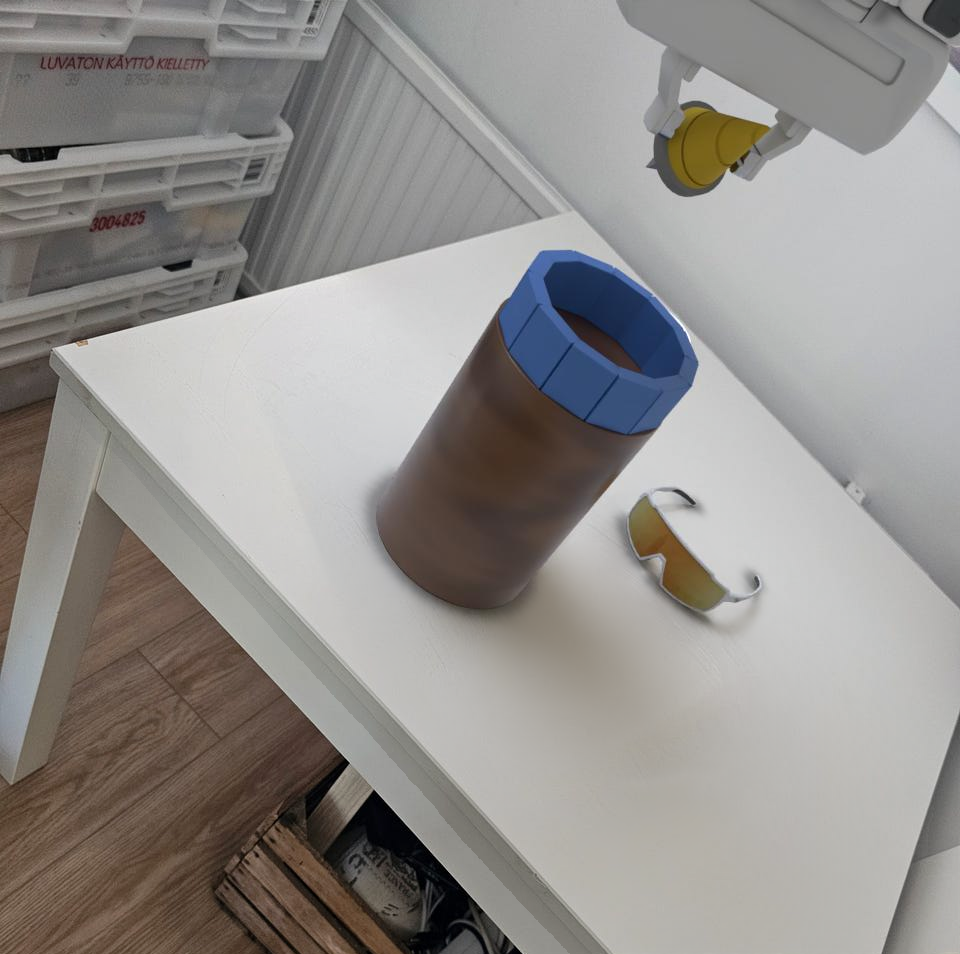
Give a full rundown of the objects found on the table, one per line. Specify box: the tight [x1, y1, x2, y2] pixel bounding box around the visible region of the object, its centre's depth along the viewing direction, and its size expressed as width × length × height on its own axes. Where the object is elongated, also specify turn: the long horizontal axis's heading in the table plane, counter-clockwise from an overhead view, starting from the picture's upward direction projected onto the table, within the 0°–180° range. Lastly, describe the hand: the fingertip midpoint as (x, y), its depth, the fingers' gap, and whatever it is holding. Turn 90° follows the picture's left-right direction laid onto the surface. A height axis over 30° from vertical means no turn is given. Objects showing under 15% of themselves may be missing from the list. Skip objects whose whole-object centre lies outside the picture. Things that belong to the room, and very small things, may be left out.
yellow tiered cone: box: [645, 100, 771, 198], centre depth 63 cm, size 5×5×10 cm
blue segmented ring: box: [499, 249, 700, 434], centre depth 71 cm, size 13×13×4 cm
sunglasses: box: [626, 485, 763, 614], centre depth 101 cm, size 14×15×5 cm
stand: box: [376, 296, 664, 610], centre depth 79 cm, size 14×14×20 cm
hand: (697, 152), depth 64 cm, fingers closed on yellow tiered cone, 5 cm apart
